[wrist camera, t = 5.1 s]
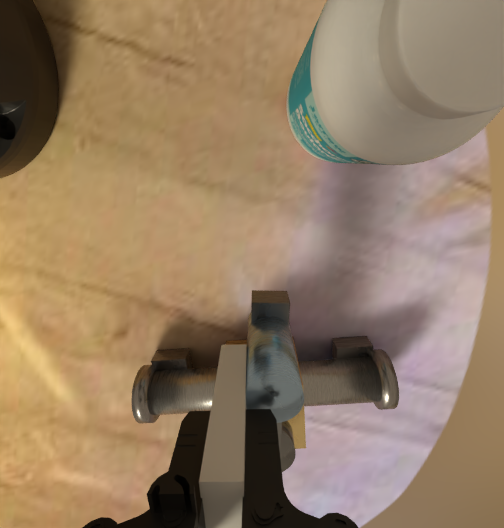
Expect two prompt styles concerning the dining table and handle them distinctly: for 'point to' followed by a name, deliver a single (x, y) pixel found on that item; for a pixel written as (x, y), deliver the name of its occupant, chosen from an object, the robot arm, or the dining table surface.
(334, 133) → the pill bottle
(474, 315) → the dining table surface
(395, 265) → the dining table surface
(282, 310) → the lever
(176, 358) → the pipe valve
